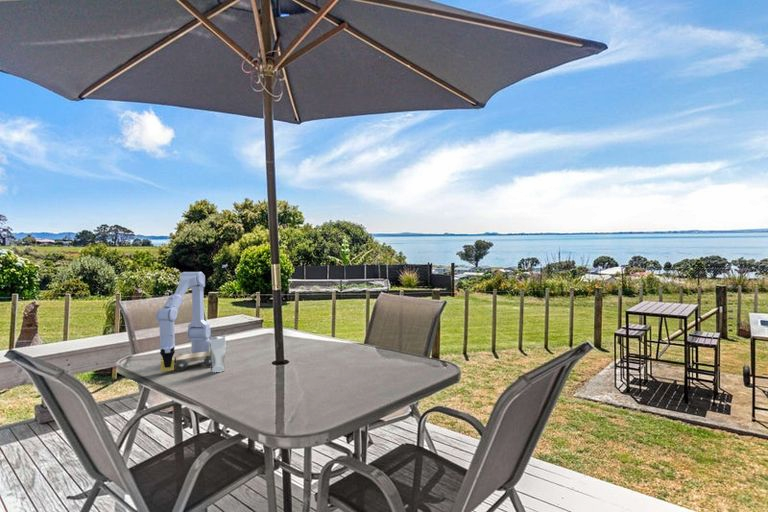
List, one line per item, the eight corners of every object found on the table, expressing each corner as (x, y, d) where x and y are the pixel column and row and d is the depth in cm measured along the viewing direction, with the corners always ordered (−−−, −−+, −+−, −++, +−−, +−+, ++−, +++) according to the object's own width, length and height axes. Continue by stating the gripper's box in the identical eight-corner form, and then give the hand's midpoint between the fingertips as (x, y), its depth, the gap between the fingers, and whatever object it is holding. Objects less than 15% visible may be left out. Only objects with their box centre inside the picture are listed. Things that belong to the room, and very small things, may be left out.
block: (173, 367, 175) (173, 357, 175) (173, 369, 172) (173, 359, 172) (160, 369, 173) (160, 359, 173) (160, 371, 169) (160, 361, 169)
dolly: (213, 360, 192) (213, 340, 192) (216, 366, 181) (216, 345, 181) (174, 365, 183) (174, 344, 183) (175, 372, 173) (174, 350, 173)
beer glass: (205, 372, 172) (205, 338, 172) (219, 368, 178) (218, 335, 178) (216, 374, 169) (215, 339, 169) (229, 370, 175) (229, 336, 175)
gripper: (156, 333, 176) (157, 363, 177) (156, 339, 164) (157, 371, 164) (174, 331, 180) (175, 361, 180) (175, 337, 167) (176, 368, 167)
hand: (167, 365), depth 172 cm, fingers closed on block, 4 cm apart
